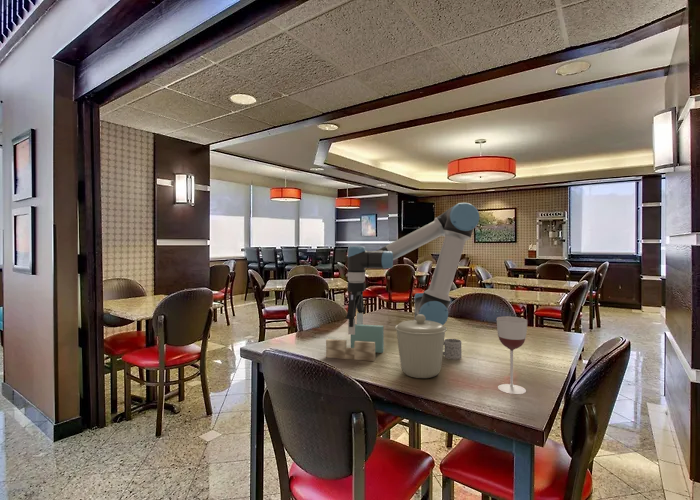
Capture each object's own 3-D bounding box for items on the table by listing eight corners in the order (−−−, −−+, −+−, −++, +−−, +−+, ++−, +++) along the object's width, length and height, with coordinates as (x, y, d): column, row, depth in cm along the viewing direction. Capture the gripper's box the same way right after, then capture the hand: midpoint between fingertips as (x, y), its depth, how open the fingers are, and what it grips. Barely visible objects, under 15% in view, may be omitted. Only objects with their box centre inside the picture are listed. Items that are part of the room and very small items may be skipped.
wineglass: (520, 383, 124) (520, 316, 124) (532, 395, 114) (531, 322, 114) (493, 382, 125) (493, 316, 125) (501, 394, 115) (501, 322, 115)
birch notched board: (375, 359, 151) (375, 342, 151) (374, 361, 149) (374, 343, 149) (327, 355, 157) (327, 339, 157) (326, 357, 155) (326, 340, 155)
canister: (411, 362, 147) (411, 308, 147) (455, 372, 136) (455, 313, 135) (385, 375, 133) (384, 315, 133) (432, 387, 122) (431, 321, 121)
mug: (461, 355, 156) (461, 339, 156) (461, 360, 149) (461, 343, 149) (436, 353, 159) (436, 337, 158) (435, 358, 152) (435, 341, 152)
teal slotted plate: (352, 349, 166) (351, 324, 166) (383, 351, 163) (383, 325, 162) (350, 350, 164) (350, 325, 164) (382, 352, 160) (382, 326, 160)
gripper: (355, 278, 177) (355, 324, 178) (339, 284, 153) (338, 336, 154) (371, 279, 175) (370, 325, 175) (357, 285, 151) (356, 338, 151)
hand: (355, 330), depth 165 cm, fingers open, 13 cm apart
